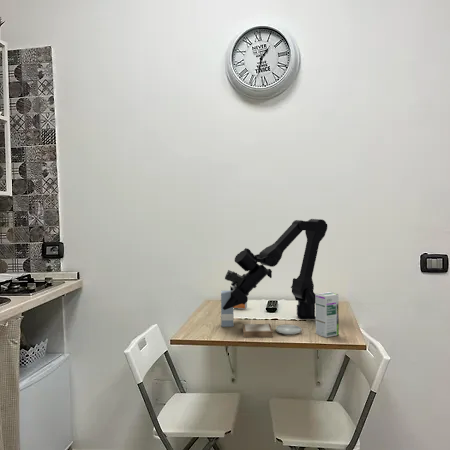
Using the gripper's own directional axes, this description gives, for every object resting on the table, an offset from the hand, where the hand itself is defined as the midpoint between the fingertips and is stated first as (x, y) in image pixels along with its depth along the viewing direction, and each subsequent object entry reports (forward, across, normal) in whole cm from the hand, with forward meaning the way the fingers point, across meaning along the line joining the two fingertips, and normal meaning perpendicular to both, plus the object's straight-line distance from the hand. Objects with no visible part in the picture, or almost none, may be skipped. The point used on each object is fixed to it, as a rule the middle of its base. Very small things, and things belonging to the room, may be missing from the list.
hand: (223, 307), depth 181 cm
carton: (+4, 0, +6) cm, 7 cm away
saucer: (-12, +11, +21) cm, 26 cm away
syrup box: (-21, +14, +30) cm, 39 cm away
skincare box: (0, -26, +10) cm, 28 cm away
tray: (-4, +11, +13) cm, 18 cm away
